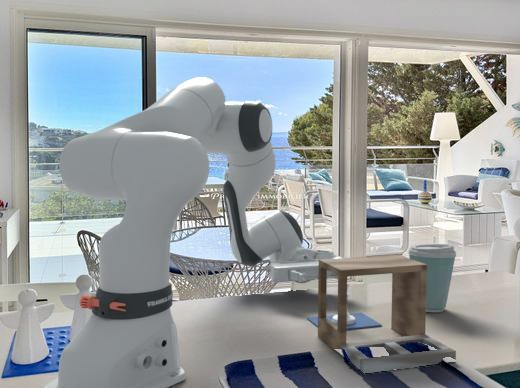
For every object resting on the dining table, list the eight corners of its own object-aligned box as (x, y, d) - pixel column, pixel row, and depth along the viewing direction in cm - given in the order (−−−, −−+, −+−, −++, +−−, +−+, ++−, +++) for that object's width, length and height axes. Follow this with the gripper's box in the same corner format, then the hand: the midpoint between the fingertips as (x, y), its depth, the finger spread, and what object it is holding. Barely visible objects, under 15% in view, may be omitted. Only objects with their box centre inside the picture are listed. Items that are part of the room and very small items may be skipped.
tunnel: (317, 336, 106) (318, 259, 105) (396, 328, 111) (398, 254, 110) (364, 374, 88) (365, 281, 86) (455, 362, 93) (458, 274, 91)
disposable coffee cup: (401, 311, 122) (403, 246, 121) (411, 300, 132) (413, 239, 131) (451, 318, 117) (453, 249, 116) (457, 306, 127) (459, 242, 126)
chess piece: (339, 316, 118) (339, 270, 117) (359, 320, 115) (360, 274, 114) (327, 321, 114) (328, 274, 113) (348, 326, 111) (349, 278, 110)
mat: (307, 319, 117) (307, 317, 117) (361, 313, 121) (361, 312, 121) (324, 332, 108) (324, 330, 108) (381, 326, 112) (381, 324, 112)
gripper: (261, 255, 135) (280, 266, 122) (337, 250, 141) (362, 260, 128) (262, 279, 135) (280, 293, 122) (336, 274, 141) (361, 287, 128)
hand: (322, 276), depth 125 cm, fingers open, 8 cm apart
